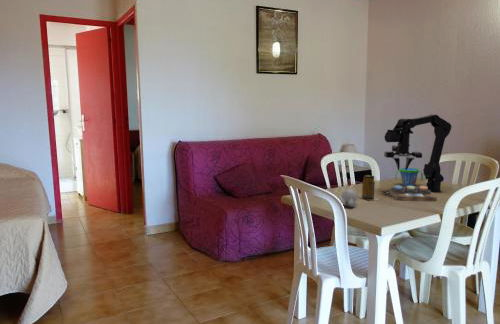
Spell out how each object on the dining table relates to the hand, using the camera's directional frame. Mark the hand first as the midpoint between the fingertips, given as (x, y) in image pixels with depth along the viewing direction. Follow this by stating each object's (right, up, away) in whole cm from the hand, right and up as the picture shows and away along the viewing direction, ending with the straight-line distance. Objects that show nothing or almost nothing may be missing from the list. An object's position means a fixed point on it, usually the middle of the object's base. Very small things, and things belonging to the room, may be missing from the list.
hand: (402, 170), depth 218 cm
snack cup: (+13, -10, +24) cm, 29 cm away
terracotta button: (+9, -10, -7) cm, 15 cm away
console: (+2, -14, -8) cm, 17 cm away
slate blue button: (-4, -10, -5) cm, 12 cm away
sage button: (+2, -10, -6) cm, 12 cm away
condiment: (-21, -15, -10) cm, 28 cm away
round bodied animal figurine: (-35, -17, -25) cm, 46 cm away
